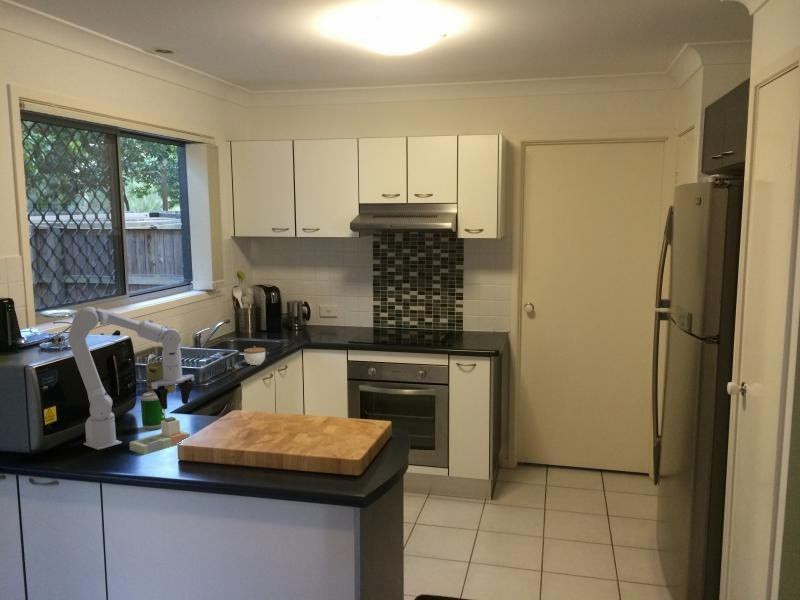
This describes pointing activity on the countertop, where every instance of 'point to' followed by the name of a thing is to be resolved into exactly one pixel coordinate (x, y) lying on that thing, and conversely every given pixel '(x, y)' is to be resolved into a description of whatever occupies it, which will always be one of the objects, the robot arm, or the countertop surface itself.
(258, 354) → the lidded jar
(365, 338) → the countertop surface
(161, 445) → the socket block
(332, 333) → the countertop surface
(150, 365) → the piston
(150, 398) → the soda can
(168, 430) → the plug
